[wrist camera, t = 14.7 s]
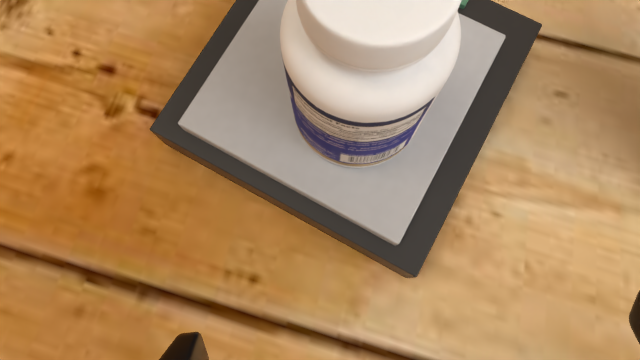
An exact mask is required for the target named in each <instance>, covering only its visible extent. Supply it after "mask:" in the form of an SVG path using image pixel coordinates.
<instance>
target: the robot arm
mask: <svg viewBox="0 0 640 360" xmlns="http://www.w3.org/2000/svg"><path fill="white" fill-rule="evenodd" d="M629 322H630V326H631V328H632V330H633V332H634V334H635V336H636V338H637V340H638V342H639V344H640V291H639V292H638V294H637V297H636V299H635V302H634V304H633V307H632V309H631V312H630V315H629ZM159 360H209V357H208V354H207V351H206V348H205V345H204V342H203V339H202V336H201V334H200V333H199V332H190V333H182V334H180V335H178V336H177V337H176V338H175V340H174V341H173V342H172V343H171V345H170V346H169V347H168V349H167V350H166V351H165V353H164V354H163V355H162V356H161V358H160V359H159Z"/></svg>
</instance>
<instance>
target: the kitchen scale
mask: <svg viewBox="0 0 640 360" xmlns="http://www.w3.org/2000/svg"><path fill="white" fill-rule="evenodd" d="M287 1H288V0H236V1H235V3H234V4H233V6H232V7H231V9H230V10H229V12H228V13H227V15H226V16H225V18H224V19H223V21H222V22H221V24H220V25H219V27H218V28H217V30H216V31H215V33H214V34H213V36H212V37H211V39H210V40H209V42H208V43H207V45H206V46H205V48H204V49H203V50H202V52H201V53H200V55H199V56H198V58H197V59H196V61H195V62H194V64H193V65H192V67H191V68H190V70H189V71H188V73H187V74H186V76H185V77H184V79H183V80H182V82H181V83H180V85H179V86H178V88H177V89H176V91H175V92H174V94H173V95H172V97H171V98H170V99H169V101H168V102H167V104H166V105H165V107H164V108H163V110H162V111H161V113H160V114H159V116H158V117H157V119H156V120H155V122H154V123H153V125H152V126H151V128H150V131H152V132H153V133H154V134H155V135H156V136H157V137H158V138H159V139H161V140H162V141H163V142H164V143H165V144H166V145H168V146H170V147H171V148H173V149H175V150H177V151H179V152H180V153H182V154H184V155H186V156H188V157H189V158H191V159H193V160H195V161H197V162H198V163H200V164H202V165H204V166H206V167H207V168H209V169H211V170H213V171H215V172H216V173H218V174H220V175H222V176H224V177H225V178H227V179H229V180H231V181H233V182H234V183H236V184H238V185H240V186H242V187H243V188H245V189H247V190H249V191H251V192H252V193H254V194H256V195H258V196H260V197H261V198H263V199H265V200H267V201H269V202H270V203H272V204H274V205H276V206H278V207H279V208H281V209H283V210H285V211H287V212H288V213H290V214H292V215H294V216H296V217H297V218H299V219H301V220H303V221H305V222H306V223H308V224H310V225H312V226H314V227H315V228H317V229H319V230H321V231H323V232H324V233H326V234H328V235H330V236H332V237H333V238H335V239H337V240H339V241H341V242H342V243H344V244H346V245H348V246H350V247H351V248H353V249H355V250H357V251H359V252H360V253H362V254H364V255H366V256H368V257H369V258H371V259H373V260H375V261H377V262H378V263H380V264H382V265H384V266H386V267H387V268H389V269H391V270H393V271H395V272H396V273H398V274H400V275H402V276H404V277H405V278H411V277H417V276H418V274H419V271H420V269H421V267H422V265H423V263H424V261H425V259H426V257H427V255H428V253H429V251H430V249H431V247H432V245H433V243H434V241H435V239H436V237H437V235H438V233H439V231H440V229H441V227H442V225H443V223H444V221H445V219H446V217H447V215H448V213H449V211H450V209H451V207H452V205H453V203H454V201H455V199H456V197H457V195H458V193H459V191H460V189H461V187H462V185H463V183H464V181H465V179H466V177H467V175H468V173H469V171H470V169H471V167H472V165H473V163H474V161H475V159H476V157H477V155H478V153H479V151H480V149H481V147H482V145H483V143H484V141H485V139H486V137H487V135H488V133H489V131H490V129H491V127H492V125H493V123H494V121H495V119H496V117H497V115H498V113H499V111H500V109H501V107H502V105H503V103H504V101H505V99H506V97H507V95H508V93H509V91H510V89H511V87H512V85H513V83H514V81H515V79H516V77H517V75H518V73H519V71H520V69H521V67H522V65H523V63H524V61H525V59H526V57H527V55H528V53H529V51H530V49H531V47H532V45H533V43H534V41H535V39H536V37H537V35H538V33H539V31H540V29H541V27H542V24H540V23H538V22H536V21H534V20H532V19H530V18H527V17H525V16H523V15H521V14H519V13H517V12H515V11H512V10H510V9H508V8H506V7H504V6H502V5H499V4H497V3H495V2H493V1H491V0H462V1H461V3H460V6H459V8H458V10H457V11H458V15H459V19H460V26H461V43H460V50H459V54H458V57H457V61H456V63H455V66H454V68H453V70H452V72H451V74H450V76H449V78H448V79H447V81H446V83H445V84H444V86H443V88H442V89H441V91H440V92H439V94H438V96H437V97H436V99H435V100H434V102H433V104H432V105H431V107H430V108H429V110H428V112H427V113H426V115H425V117H424V118H423V120H422V122H421V124H420V126H419V128H418V129H417V131H416V133H415V135H414V136H413V138H412V139H411V141H410V142H409V144H408V145H407V146H406V147H405V148H404V149H403V150H402V151H401V152H400V153H399V154H397V155H396V156H395V157H393V158H392V159H390V160H388V161H386V162H384V163H381V164H379V165H375V166H371V167H365V168H350V167H344V166H340V165H336V164H334V163H331V162H329V161H327V160H325V159H324V158H322V157H320V156H319V155H318V154H316V153H315V152H314V151H313V150H312V149H311V148H310V147H309V146H308V145H307V144H306V142H305V141H304V139H303V138H302V136H301V134H300V133H299V130H298V128H297V125H296V121H295V118H294V113H293V109H292V103H291V98H290V94H289V88H288V84H287V79H286V73H285V68H284V64H283V59H282V54H281V45H280V25H281V19H282V15H283V11H284V8H285V6H286V3H287Z"/></svg>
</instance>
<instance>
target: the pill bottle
mask: <svg viewBox="0 0 640 360" xmlns="http://www.w3.org/2000/svg"><path fill="white" fill-rule="evenodd" d="M461 1H462V0H288V1H287V3H286V6H285V8H284V11H283V15H282V19H281V25H280V45H281V54H282V59H283V64H284V68H285V73H286V79H287V84H288V88H289V94H290V98H291V103H292V109H293V113H294V118H295V121H296V125H297V128H298V130H299V133H300V134H301V136H302V138H303V139H304V141H305V142H306V144H307V145H308V146H309V147H310V148H311V149H312V150H313V151H314V152H315V153H316V154H318V155H319V156H320V157H322V158H324V159H325V160H327V161H329V162H331V163H334V164H336V165H340V166H344V167H350V168H365V167H371V166H375V165H379V164H381V163H384V162H386V161H388V160H390V159H392V158H393V157H395V156H396V155H397V154H399V153H400V152H401V151H402V150H403V149H404V148H405V147H406V146H407V145H408V144H409V142H410V141H411V139H412V138H413V136H414V135H415V133H416V131H417V129H418V128H419V126H420V124H421V122H422V120H423V118H424V117H425V115H426V113H427V112H428V110H429V108H430V107H431V105H432V104H433V102H434V100H435V99H436V97H437V96H438V94H439V92H440V91H441V89H442V88H443V86H444V84H445V83H446V81H447V79H448V78H449V76H450V74H451V72H452V70H453V68H454V66H455V63H456V61H457V57H458V54H459V50H460V43H461V26H460V19H459V15H458V11H457V10H458V8H459V6H460V3H461Z"/></svg>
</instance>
